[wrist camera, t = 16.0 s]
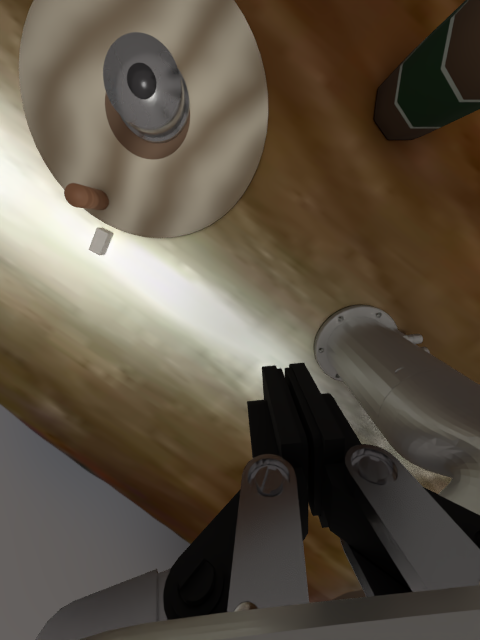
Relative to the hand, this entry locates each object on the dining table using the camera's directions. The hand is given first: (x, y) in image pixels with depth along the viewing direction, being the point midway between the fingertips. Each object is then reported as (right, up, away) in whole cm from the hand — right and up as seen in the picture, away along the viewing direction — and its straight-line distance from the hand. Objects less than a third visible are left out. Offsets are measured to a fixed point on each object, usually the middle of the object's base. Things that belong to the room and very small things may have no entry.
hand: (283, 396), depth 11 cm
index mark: (-19, +13, +23) cm, 33 cm away
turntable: (-12, +26, +19) cm, 34 cm away
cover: (-11, +26, +17) cm, 33 cm away
